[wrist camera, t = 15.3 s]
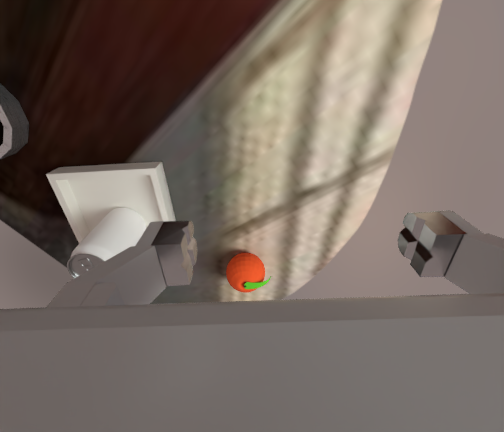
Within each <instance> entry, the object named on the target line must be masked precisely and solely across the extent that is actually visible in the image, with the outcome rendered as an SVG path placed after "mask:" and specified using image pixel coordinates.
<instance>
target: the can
mask: <svg viewBox="0 0 504 432" xmlns="http://www.w3.org/2000/svg"><path fill="white" fill-rule="evenodd" d="M145 230H146V224H145V221H144V219H143V218H142V217H141V215H140V214H138V213H137V212H136V211H134V210H132V209H129V208H116V209H113V210H112V211H111V212H109V213H108V214H107V215H106V216H105V217H104V218H103V220H102V221H101V222H100V223H99V224H98V225H97V226H96V227H95V228H94V229H93V230H92V231H91V232H90V233H89V234H88V235H87V236H86V237H85V238H84V239H83V240H82V241H81V242H80V243H79V244H78V246H77V247H76V248H75V249H74V250H73V252H72V254H71V258H70V259H69V261H68V263H67V269H68V271H69V273H70V275H71V276H72V277H73V278H76V277H78V276H80V275H81V274H83V273H85V272H87V271H88V270H90V269H92V268H94V267H95V266H97V265H99V264H101V263H103V262H104V261H106V260H108V259H110V258H111V257H113V256H115V255H117V254H118V253H120V252H122V251H124V250H125V249H127V248H129V247H131V246H136V244H137V242H138V241H139V239H140V238H141V236H142V234H143V233H144V231H145Z"/></svg>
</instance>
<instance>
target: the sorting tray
mask: <svg viewBox="0 0 504 432" xmlns="http://www.w3.org/2000/svg"><path fill="white" fill-rule="evenodd" d="M46 176H47V178H48V180H49V182H50V184H51V186H52V188H53V190H54V192H55V195H56V197H57V199H58V201H59V203H60V205H61V207H62V209H63V211H64V213H65V215H66V217H67V219H68V222H69V224H70V226H71V228H72V230H73V232H74V234H75V236H76V238H77V240H78V242H79V243H80V242H81V241H82V240H83V239H84V238H85V237H86V236H87V235H88V234H89V233H90V232H91V231H92V230H93V229H94V228H95V227H96V226H97V225H98V224H99V223H100V222H101V221H102V220H103V218H104V217H105V216H106V215H107V214H108V213H109V212H111V211H112V210H113V209H116V208H129V209H132V210H134V211H136V212H137V213H138V214H140V215H141V217H142V218H143V219H144V221H145V224H146V228H147V227H148V225H149V223H150V222H156V221H176V219H175V215H174V211H173V207H172V202H171V198H170V194H169V190H168V186H167V181H166V177H165V173H164V169H163V165H162V161H161V162H144V163H126V164H109V165H91V166H74V167H59V168H57V169H55V170H53V171H51V172H49V173H47V174H46Z"/></svg>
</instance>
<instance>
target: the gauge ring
mask: <svg viewBox="0 0 504 432" xmlns="http://www.w3.org/2000/svg"><path fill="white" fill-rule="evenodd" d="M0 120H1V122H2V124H3V126H4V134H3V144H2V145H1V146H0V159H2V158H5V157H8V156H10V155H13V154H16V153H17V152H18V151H19V150H20V149H21V148H22V147H23V146H24V145H26V144H27V143H28V131H29V123H28V121H27V118H26V116H25V114H24V112H23V110H22V108H21V106H20V103H19V101H18V100H17V99H16V98H15V97H14V96H13V95H12V94H11V93H10V92H9V91H7V90H6V89H5V88H4V87H3V86H2V85H1V84H0Z"/></svg>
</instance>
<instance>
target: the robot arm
mask: <svg viewBox="0 0 504 432" xmlns="http://www.w3.org/2000/svg"><path fill="white" fill-rule="evenodd" d="M403 224H404V226H405V228H404V229H403V230H402V231H401V232H400V234H399V238H398V247H399V249H400V252H401V253H402V255H403V256H404V257H406V258H408V259H410V260H411V263H410V265H411V266H412V267H413V268H414V270H415V271H416V272H417V273H418V275H419V276H420V277H445V278H446V279H447V280H449V281H450V282H452V283H454V284H455V285H457V286H459V287H460V288H462V289H463V290H465V291H466V292H468V293H469V294H450V295H420V296H392V297H391V296H390V297H358V298H328V299H296V300H265V301H234V302H204V303H173V304H150V303H151V302H152V301H153V300H154V299H155V298H156V297H157V296H158V295H159V294H160V293H161V292H162V291H163V290H164V289H165V288H166V286H175V285H190V281H191V278H192V274H193V268H192V266H193V265H194V264H195V263H196V259H197V244H196V240H195V239H194V238H193V237H192V236H193V232H194V228H193V223H192V222H191V221H156V222H150V223H149V225H148V227H147V228H146V230H145V231H144V233H143V234H142V236H141V238H140V239H139V241H138V242H137V244H136V246H131V247H129V248H127V249H125V250H124V251H122V252H120V253H118V254H117V255H115V256H113V257H111V258H110V259H108V260H106V261H104V262H103V263H101V264H99V265H97V266H95V267H94V268H92V269H90V270H88V271H87V272H85V273H83V274H81V275H80V276H78V277H76V278H74V279H72V280H71V281H69V282H67V283H66V284H65V285H64V286H63V288H62V289H61V290H60V291H59V293H58V294H57V295H56V296H55V297H54V298H53V300H52V301H51V302H50V303H49V305H48V306H47V307H46V308H20V309H0V432H504V239H503V238H500V237H497V236H494V235H491V234H484V233H482V232H481V231H480V230H478V229H477V228H475V227H474V226H472V225H471V224H470V223H469V222H467V221H466V220H465V219H463V218H462V217H460V216H459V215H458V214H456V213H455V212H453V211H435V212H419V213H407V215H406V216H405V217H404V221H403Z"/></svg>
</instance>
